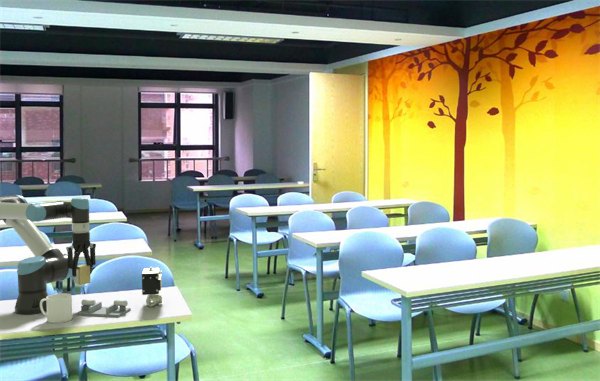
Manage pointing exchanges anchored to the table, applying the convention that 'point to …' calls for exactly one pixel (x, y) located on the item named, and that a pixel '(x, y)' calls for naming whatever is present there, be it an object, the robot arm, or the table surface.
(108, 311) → the shaft rig
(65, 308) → the mug
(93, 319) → the table surface
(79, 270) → the coupling block
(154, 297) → the ball valve
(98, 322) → the table surface
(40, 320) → the table surface
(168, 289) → the table surface
